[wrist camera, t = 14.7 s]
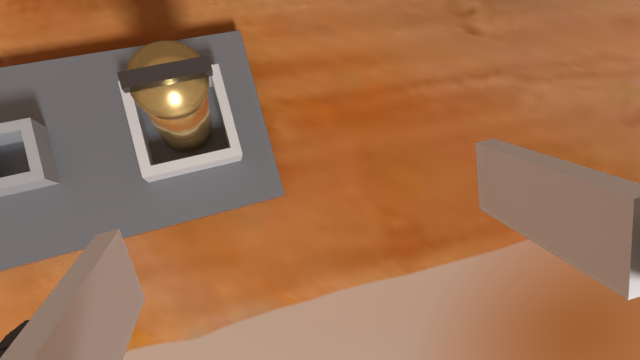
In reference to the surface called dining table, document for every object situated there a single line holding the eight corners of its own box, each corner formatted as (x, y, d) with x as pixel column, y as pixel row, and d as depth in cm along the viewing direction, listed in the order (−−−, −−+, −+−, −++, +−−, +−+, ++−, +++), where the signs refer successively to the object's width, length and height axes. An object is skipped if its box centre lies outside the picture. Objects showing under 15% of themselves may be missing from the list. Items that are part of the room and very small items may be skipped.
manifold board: (238, 39, 41) (241, 14, 36) (281, 196, 40) (289, 191, 35) (-44, 85, 35) (-87, 61, 30) (-1, 271, 34) (-38, 278, 29)
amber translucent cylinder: (208, 96, 38) (199, 25, 25) (222, 146, 37) (221, 100, 25) (148, 108, 36) (108, 41, 24) (162, 160, 36) (130, 120, 24)
